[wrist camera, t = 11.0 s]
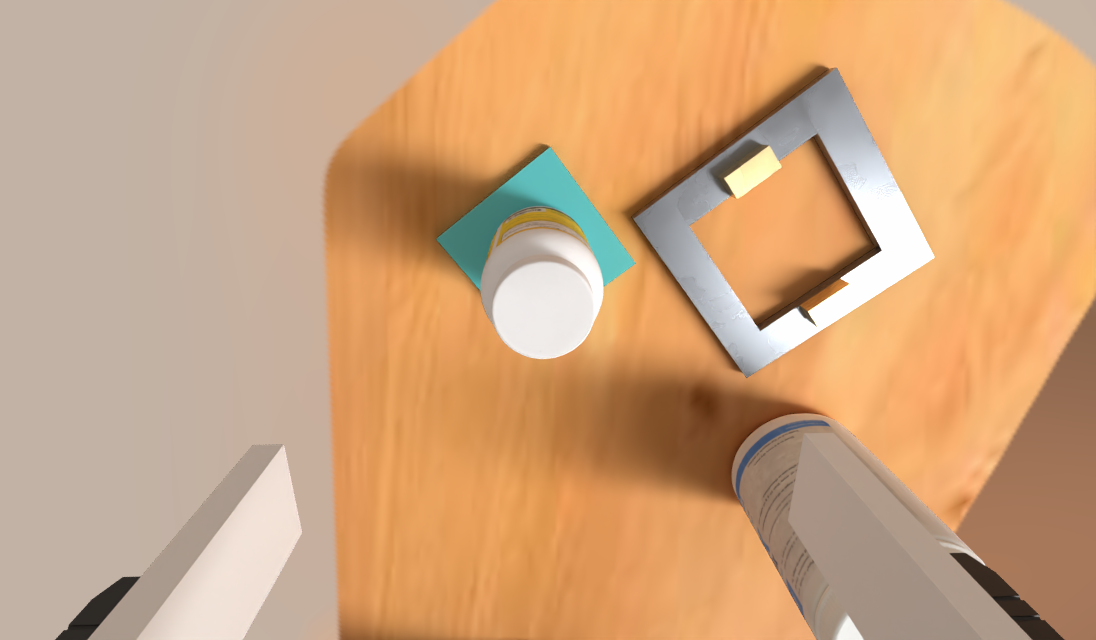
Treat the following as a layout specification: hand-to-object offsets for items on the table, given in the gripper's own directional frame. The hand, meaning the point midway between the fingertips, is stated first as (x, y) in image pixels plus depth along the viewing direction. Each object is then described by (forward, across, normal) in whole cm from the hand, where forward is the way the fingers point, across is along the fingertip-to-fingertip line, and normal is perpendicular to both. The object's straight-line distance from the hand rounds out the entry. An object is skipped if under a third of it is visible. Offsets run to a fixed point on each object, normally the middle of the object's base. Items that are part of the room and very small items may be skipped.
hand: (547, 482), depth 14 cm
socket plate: (+23, -16, -2) cm, 28 cm away
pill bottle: (+22, 0, -1) cm, 22 cm away
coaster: (+23, 0, -1) cm, 23 cm away
